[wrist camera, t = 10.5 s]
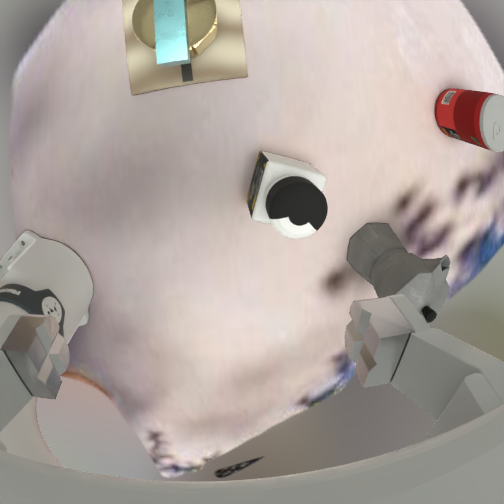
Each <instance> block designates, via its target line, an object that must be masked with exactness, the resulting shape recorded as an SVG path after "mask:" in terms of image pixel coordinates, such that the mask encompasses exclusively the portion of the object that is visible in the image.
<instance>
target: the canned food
mask: <svg viewBox="0 0 504 504" xmlns="http://www.w3.org/2000/svg"><path fill="white" fill-rule="evenodd" d="M435 115H436V120H437V123H438V125H439V127H440V129H441V130H442V131H443V132H444V133H445V134H446V135H448V136H449V137H452V138H455V139H459V140H462V141H465V142H468V143H471V144H474V145H477V146H479V147H482V148H485V149H488V150H491V151H494V152H502V151H504V96H502V95H499V94H494V93H487V92H480V91H472V90H462V89H448V90H446V91H444V92H443V93H441V95H440V96H439V97H438V100H437V102H436V107H435Z"/></svg>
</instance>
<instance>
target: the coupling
mask: <svg viewBox="0 0 504 504" xmlns="http://www.w3.org/2000/svg"><path fill="white" fill-rule="evenodd" d="M132 25H133V29H134V32H135V36H136V37H137V38H136V39H138V40H139V41H140V42H142V43H143V44H145V45H146V46H148V47H149V48H150V49H152V50H153V51H155V52H156V56H157V64H158V65H160V66H162V67H168V66H174V65H181V64H188V63H191V61H190V58H196V54H197V55H198V56H200V54H201V53H202V52H203V51H204V50H205V49H206V48H207V47H208V46H209V45H210V44H211V43H212V42H213V41H214V40H215V39H216V35H217V12H216V0H139V1H138V2H137V4H136V6H135V8H134V11H133V15H132Z"/></svg>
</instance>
